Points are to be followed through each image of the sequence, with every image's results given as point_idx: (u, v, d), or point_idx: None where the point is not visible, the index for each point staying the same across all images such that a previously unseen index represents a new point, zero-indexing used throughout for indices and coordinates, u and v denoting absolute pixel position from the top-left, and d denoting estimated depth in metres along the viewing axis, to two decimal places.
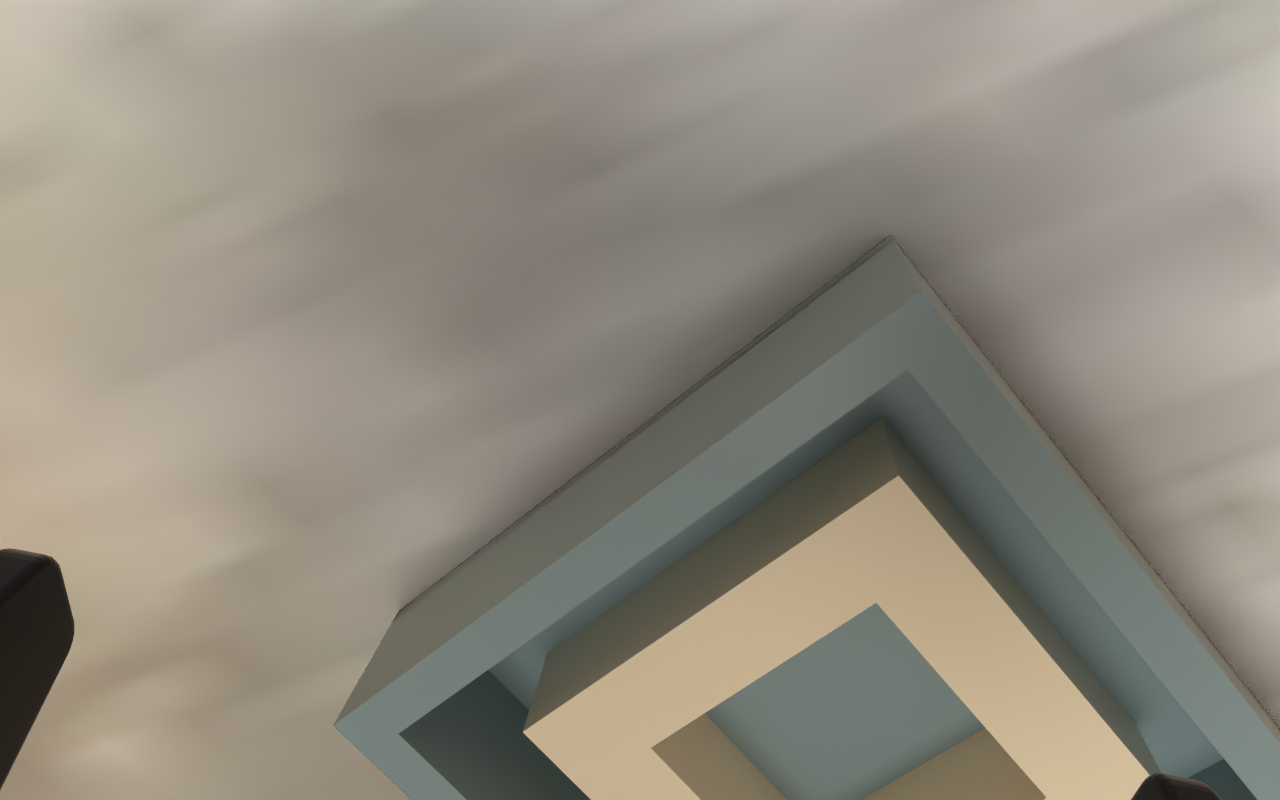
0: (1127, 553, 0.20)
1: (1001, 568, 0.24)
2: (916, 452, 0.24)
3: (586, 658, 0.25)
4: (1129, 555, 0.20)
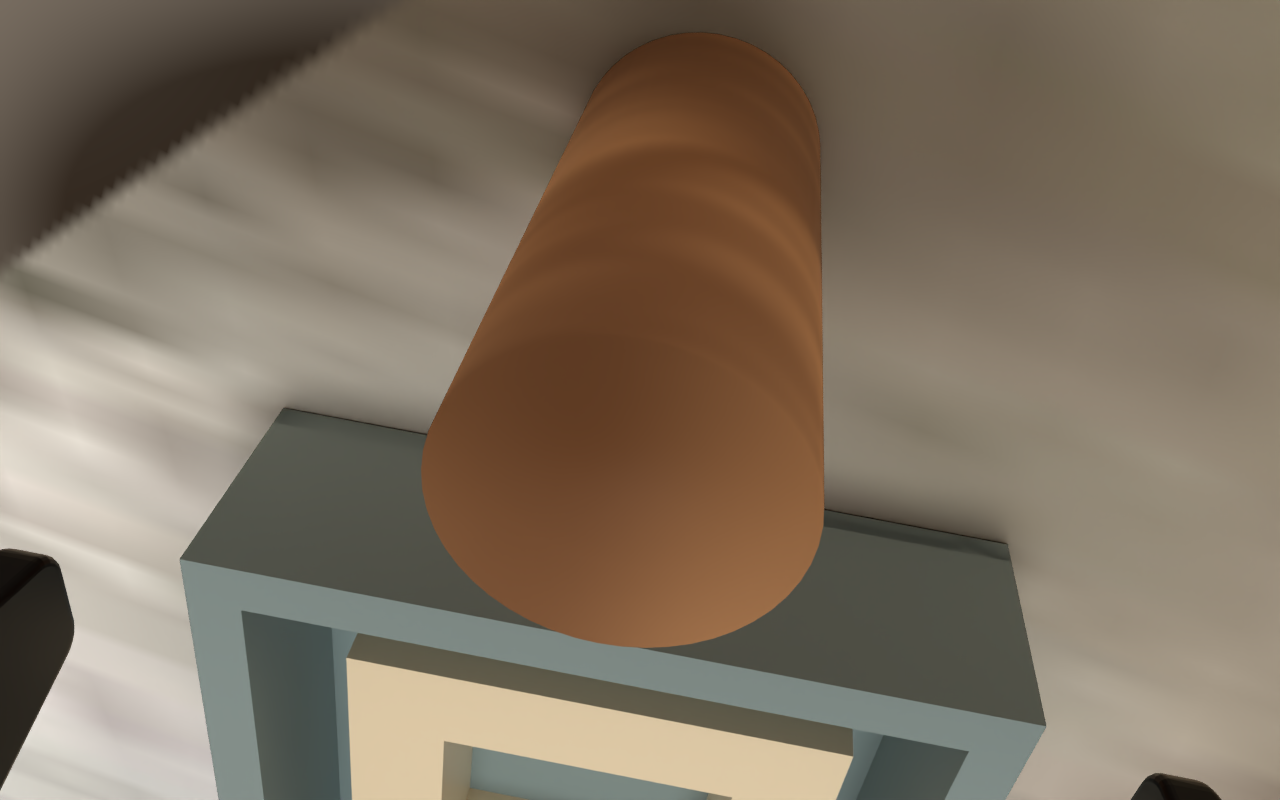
0: None
1: None
2: None
3: None
4: None
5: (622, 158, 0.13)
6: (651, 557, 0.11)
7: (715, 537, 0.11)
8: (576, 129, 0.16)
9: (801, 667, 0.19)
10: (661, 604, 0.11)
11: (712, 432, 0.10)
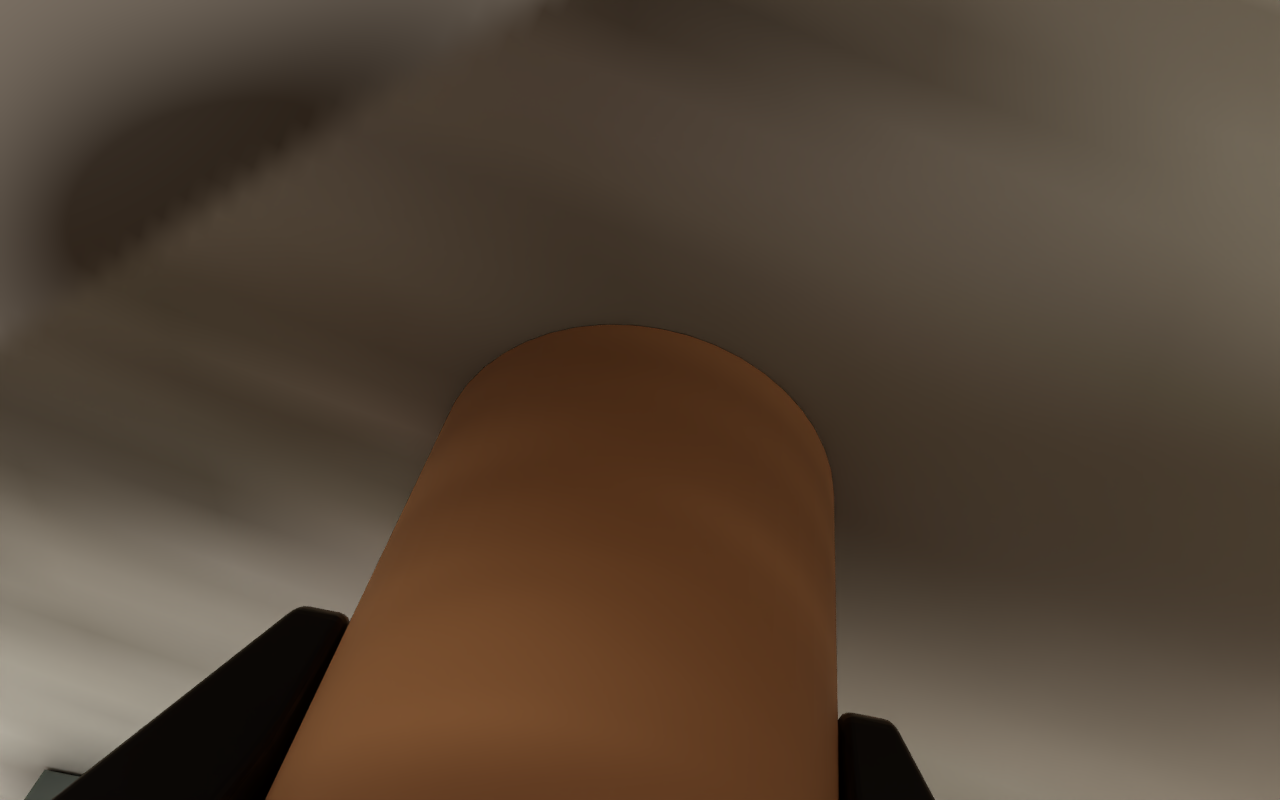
0: None
1: None
2: None
3: None
4: None
5: (406, 795, 0.06)
6: None
7: None
8: (396, 531, 0.09)
9: None
10: None
11: None
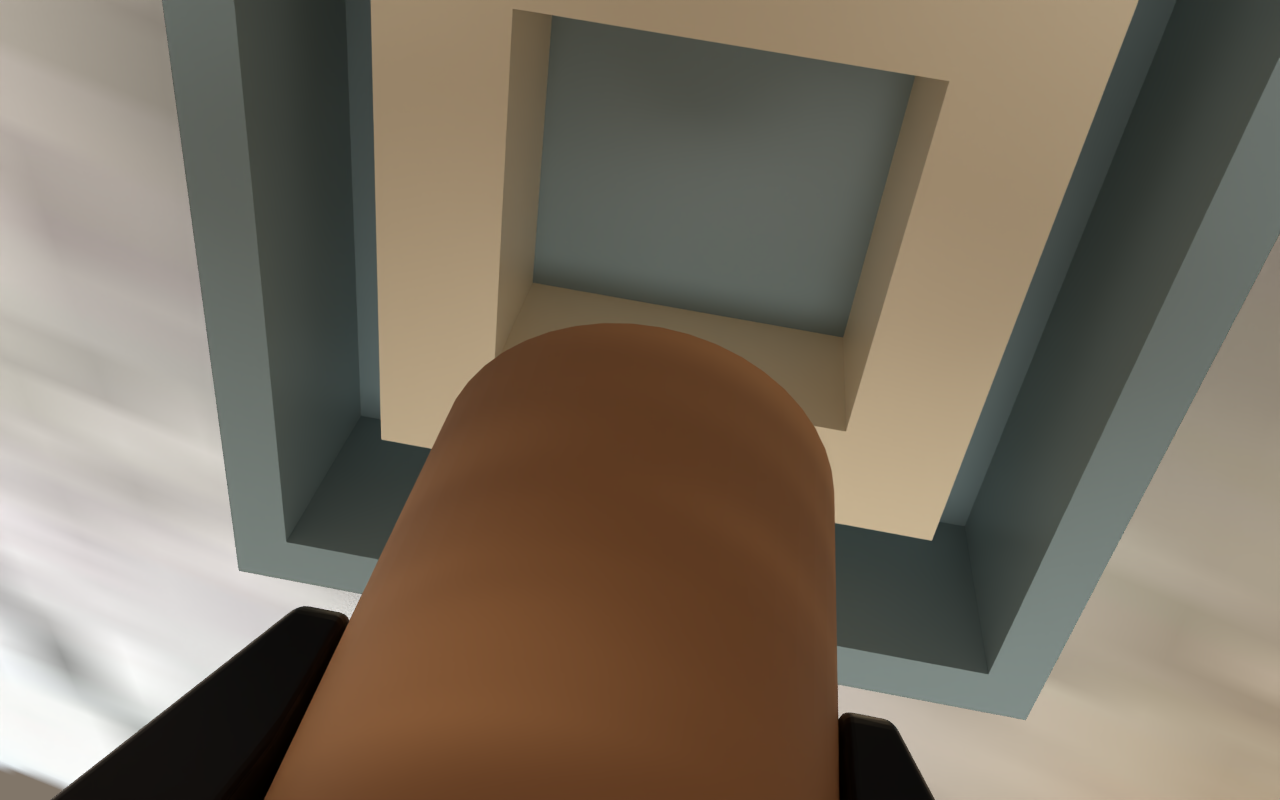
0: (200, 282, 0.17)
1: None
2: None
3: None
4: (200, 279, 0.17)
5: (407, 795, 0.06)
6: None
7: None
8: (396, 529, 0.09)
9: None
10: None
11: None
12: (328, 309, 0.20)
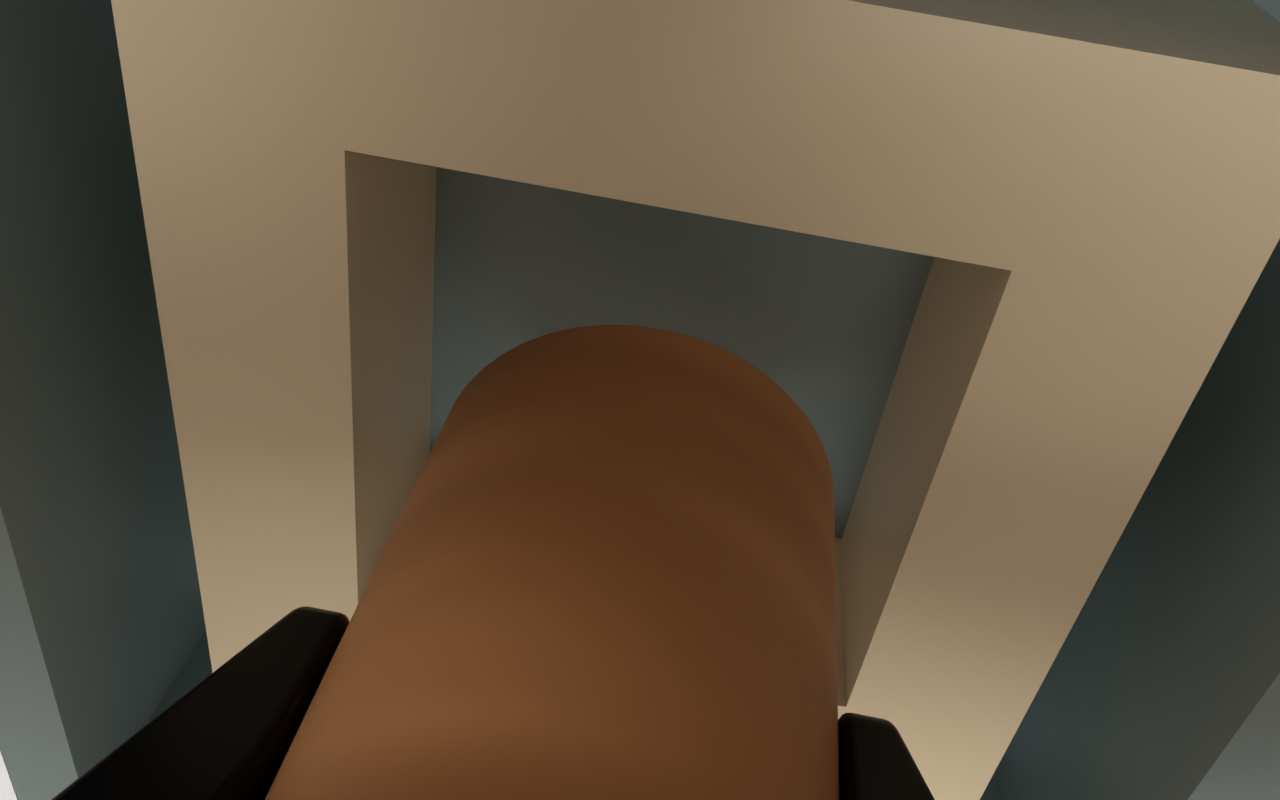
0: None
1: None
2: None
3: None
4: None
5: (405, 797, 0.06)
6: None
7: None
8: (396, 531, 0.09)
9: None
10: None
11: None
12: (148, 504, 0.15)
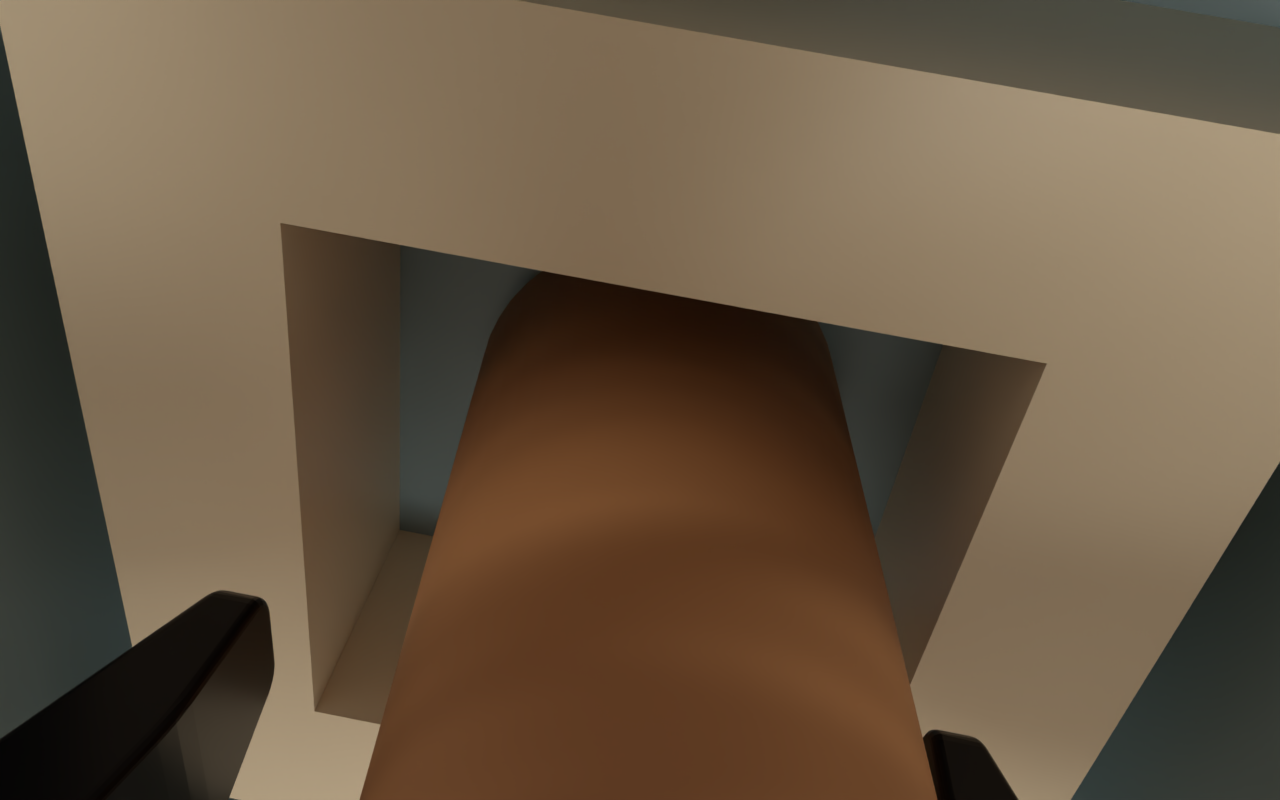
0: None
1: None
2: None
3: None
4: None
5: (571, 560, 0.07)
6: None
7: None
8: (478, 411, 0.10)
9: None
10: None
11: None
12: (91, 581, 0.14)
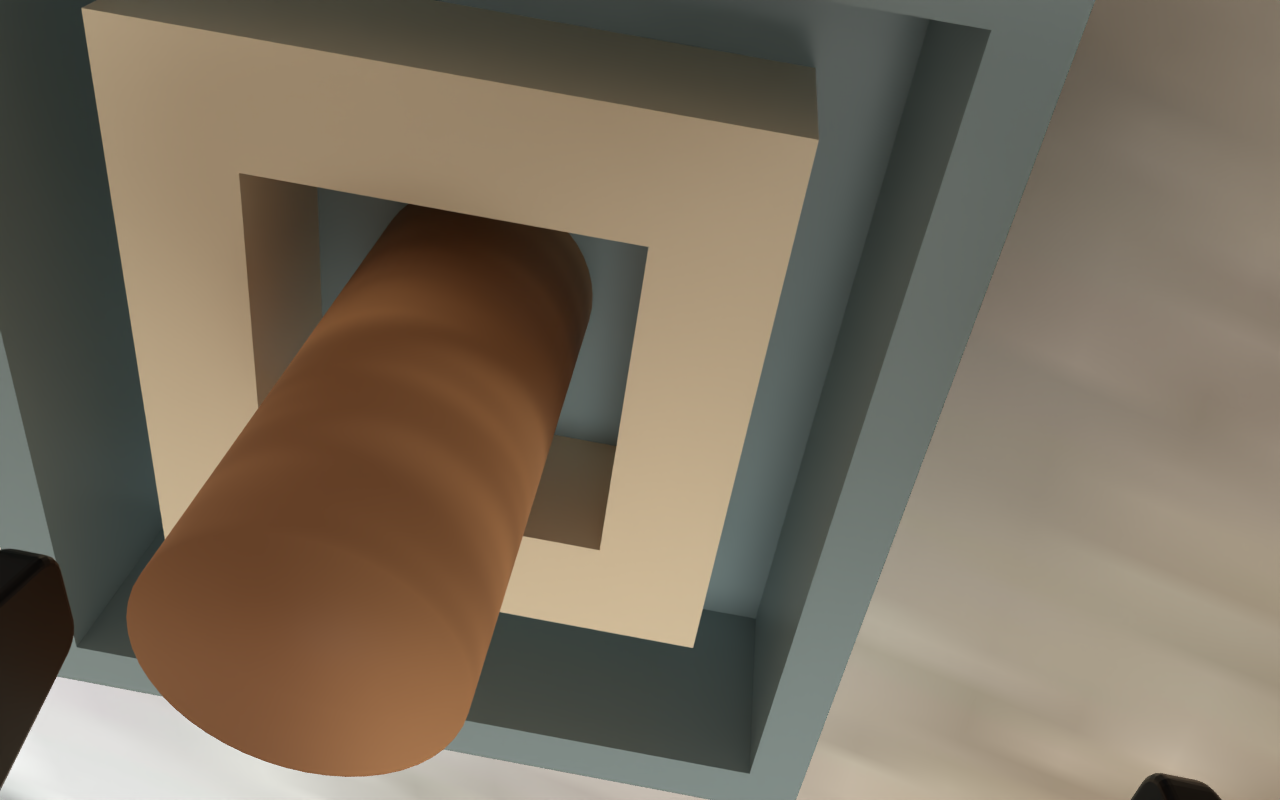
0: None
1: None
2: None
3: None
4: None
5: (349, 334, 0.15)
6: (335, 704, 0.13)
7: (384, 691, 0.12)
8: (350, 279, 0.18)
9: None
10: (352, 742, 0.13)
11: (363, 609, 0.12)
12: (119, 421, 0.21)
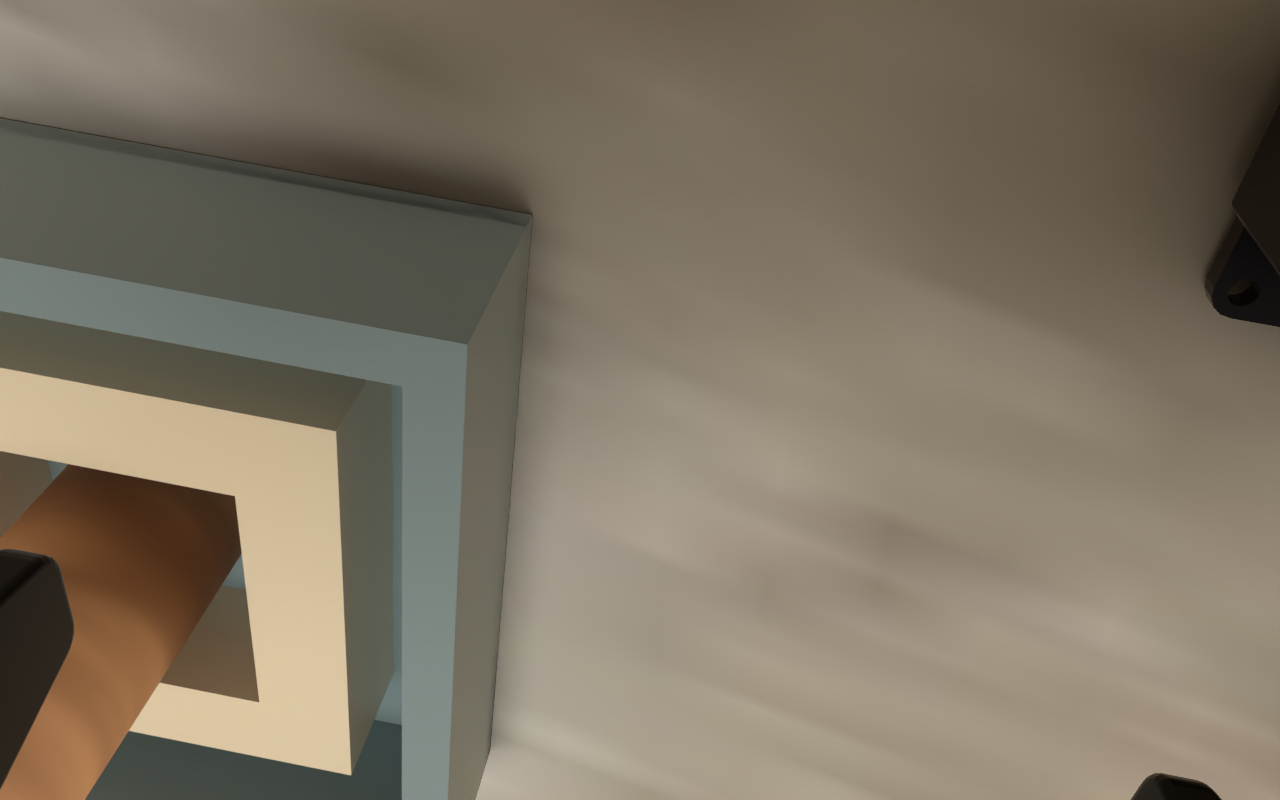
0: None
1: None
2: None
3: None
4: None
5: None
6: None
7: None
8: None
9: (206, 286, 0.17)
10: None
11: None
12: None
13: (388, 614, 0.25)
